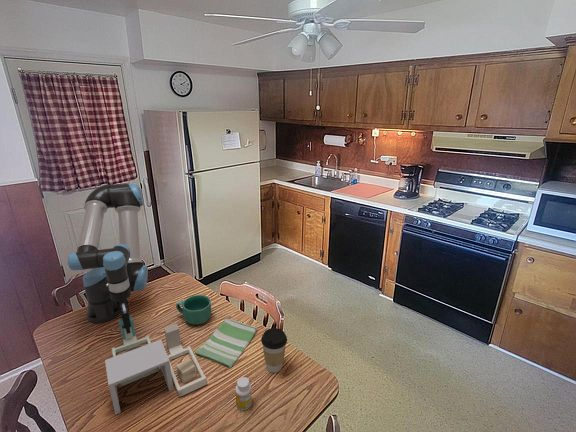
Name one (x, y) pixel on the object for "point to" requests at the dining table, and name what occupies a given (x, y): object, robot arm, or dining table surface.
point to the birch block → (186, 370)
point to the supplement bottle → (243, 394)
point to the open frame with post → (176, 351)
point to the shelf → (136, 367)
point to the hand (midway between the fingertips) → (128, 334)
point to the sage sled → (129, 344)
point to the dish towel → (227, 342)
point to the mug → (195, 309)
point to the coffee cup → (274, 348)
